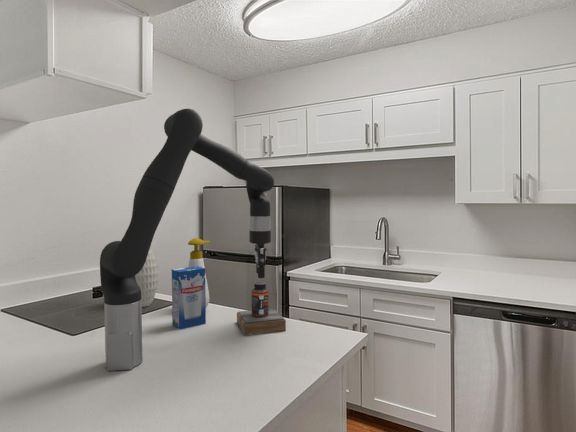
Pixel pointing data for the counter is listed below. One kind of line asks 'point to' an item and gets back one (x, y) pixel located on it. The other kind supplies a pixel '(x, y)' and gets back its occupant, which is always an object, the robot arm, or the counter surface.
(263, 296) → the supplement bottle
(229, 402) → the counter surface
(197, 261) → the soap bottle
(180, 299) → the milk carton
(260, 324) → the walnut block
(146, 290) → the vase
